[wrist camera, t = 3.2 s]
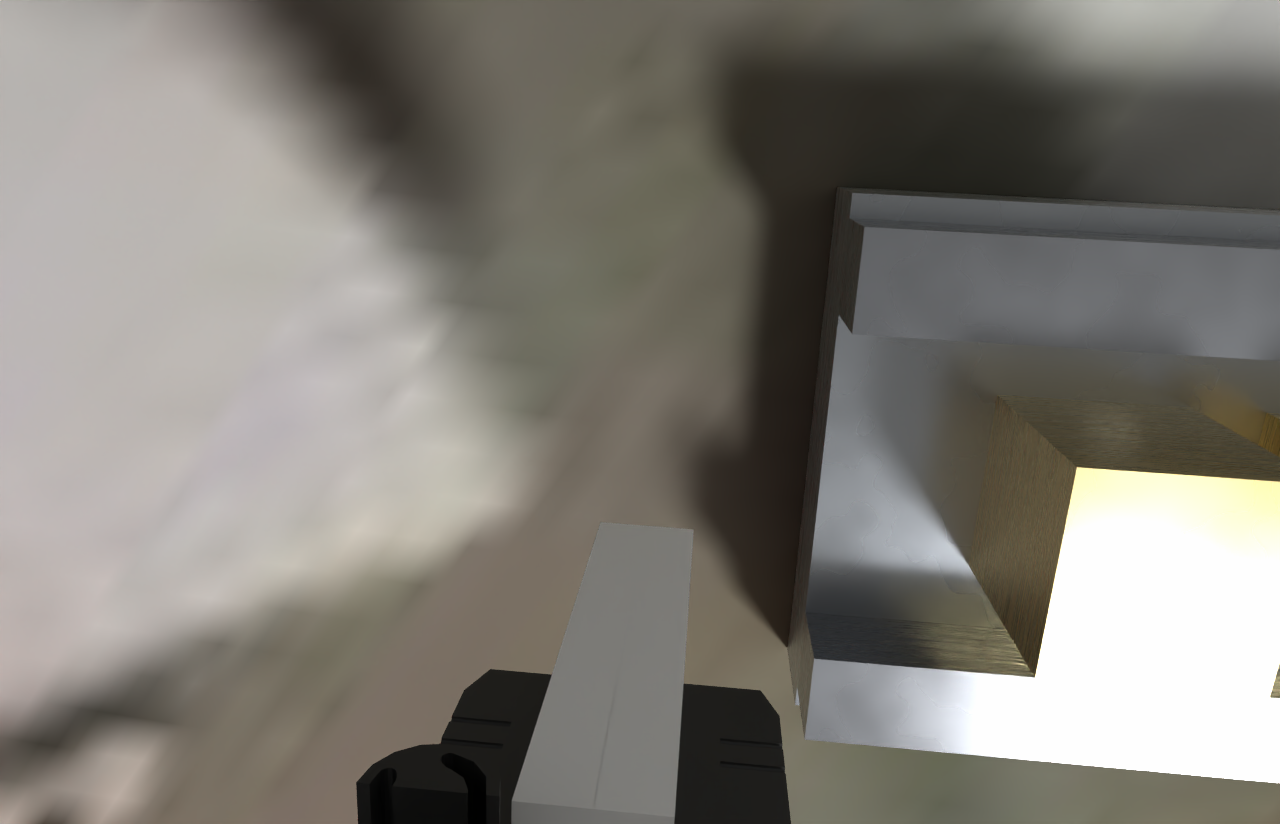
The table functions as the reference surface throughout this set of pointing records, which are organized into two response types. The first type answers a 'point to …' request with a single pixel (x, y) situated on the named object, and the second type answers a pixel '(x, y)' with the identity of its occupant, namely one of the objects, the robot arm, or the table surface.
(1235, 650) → the brass block
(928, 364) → the slotted deck
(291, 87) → the table surface
